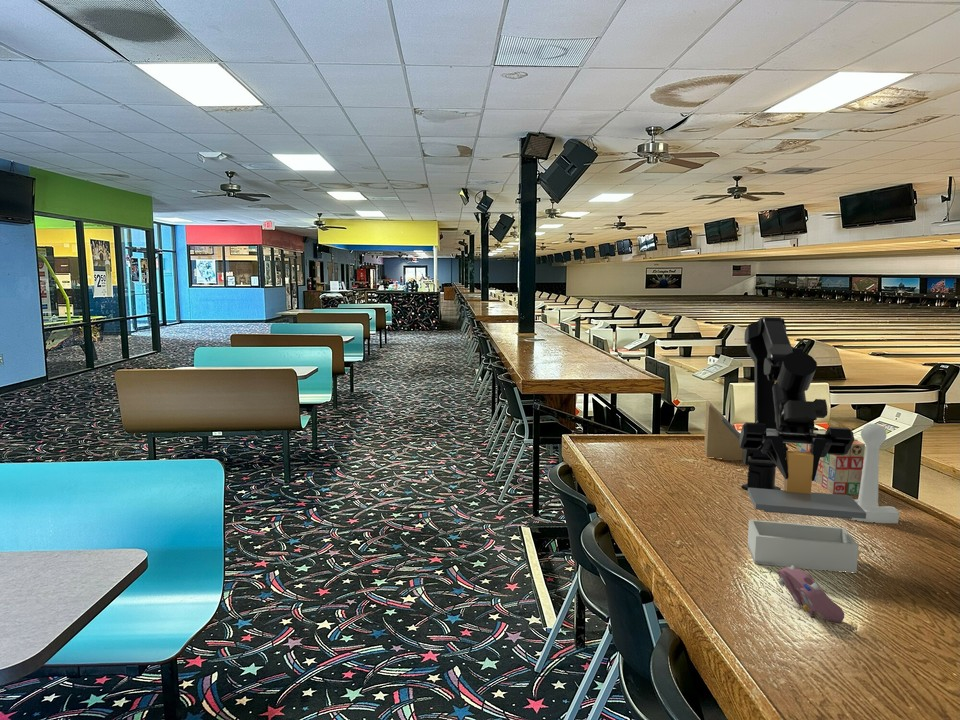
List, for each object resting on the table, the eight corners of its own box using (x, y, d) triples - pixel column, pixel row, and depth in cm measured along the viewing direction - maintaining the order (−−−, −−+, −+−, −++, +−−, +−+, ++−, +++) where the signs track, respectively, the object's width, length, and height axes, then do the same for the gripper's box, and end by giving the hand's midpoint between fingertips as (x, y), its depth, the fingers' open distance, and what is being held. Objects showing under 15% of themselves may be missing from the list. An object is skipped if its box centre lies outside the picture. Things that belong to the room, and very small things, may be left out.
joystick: (839, 519, 134) (847, 424, 132) (830, 507, 142) (837, 416, 139) (900, 524, 131) (909, 428, 129) (887, 511, 139) (895, 419, 136)
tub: (747, 545, 121) (748, 519, 121) (842, 554, 117) (844, 527, 117) (754, 563, 113) (756, 536, 113) (856, 574, 110) (858, 545, 109)
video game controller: (784, 601, 104) (767, 564, 102) (809, 588, 104) (793, 551, 103) (821, 635, 94) (803, 595, 93) (849, 621, 94) (832, 580, 93)
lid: (745, 493, 122) (748, 448, 121) (845, 501, 118) (849, 454, 117) (755, 514, 112) (758, 464, 111) (865, 523, 108) (869, 471, 107)
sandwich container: (766, 463, 175) (770, 408, 173) (706, 459, 179) (709, 405, 177) (761, 454, 183) (764, 402, 181) (703, 450, 187) (706, 399, 185)
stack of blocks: (794, 467, 171) (797, 421, 169) (818, 468, 171) (822, 422, 169) (833, 494, 150) (837, 442, 148) (861, 495, 149) (865, 443, 148)
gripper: (745, 380, 122) (751, 453, 113) (855, 384, 118) (871, 460, 109) (737, 412, 131) (742, 483, 122) (839, 418, 126) (852, 491, 117)
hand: (799, 479), depth 117 cm, fingers closed on lid, 4 cm apart
